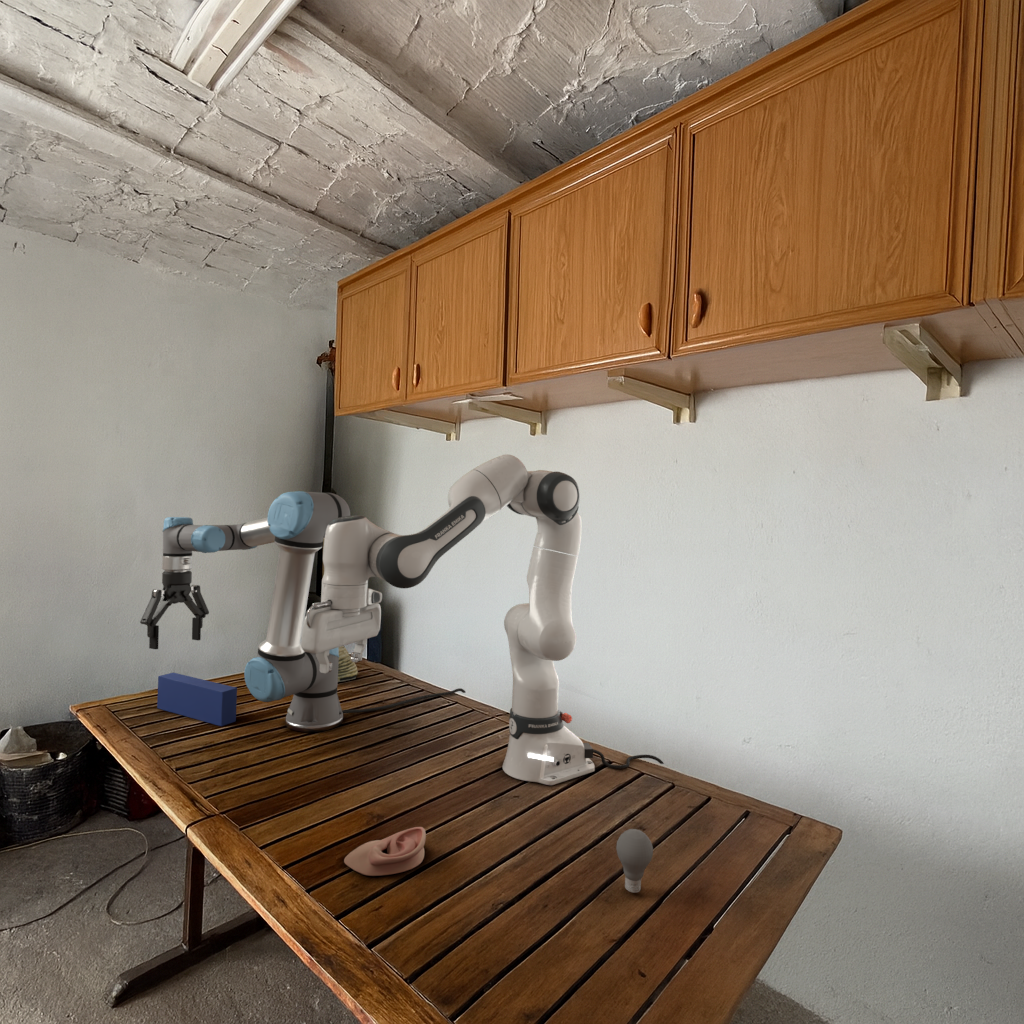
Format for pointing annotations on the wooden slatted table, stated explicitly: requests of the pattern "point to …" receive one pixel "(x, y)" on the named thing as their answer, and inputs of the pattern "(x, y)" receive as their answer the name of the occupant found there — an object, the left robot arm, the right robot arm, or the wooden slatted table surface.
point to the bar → (197, 698)
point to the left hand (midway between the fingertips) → (175, 644)
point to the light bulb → (634, 857)
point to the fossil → (346, 666)
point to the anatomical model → (389, 853)
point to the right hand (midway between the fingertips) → (341, 666)
